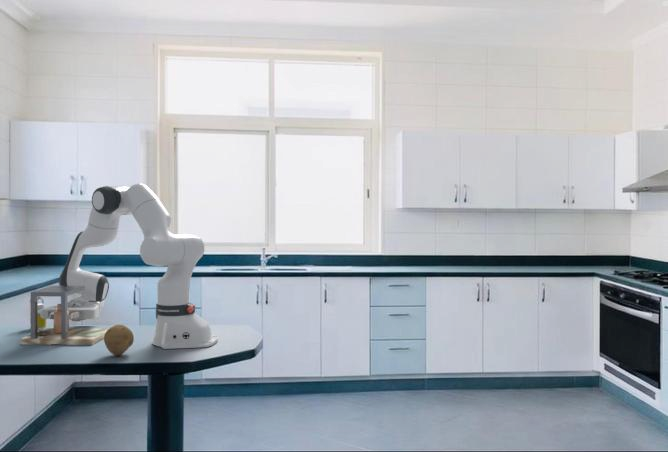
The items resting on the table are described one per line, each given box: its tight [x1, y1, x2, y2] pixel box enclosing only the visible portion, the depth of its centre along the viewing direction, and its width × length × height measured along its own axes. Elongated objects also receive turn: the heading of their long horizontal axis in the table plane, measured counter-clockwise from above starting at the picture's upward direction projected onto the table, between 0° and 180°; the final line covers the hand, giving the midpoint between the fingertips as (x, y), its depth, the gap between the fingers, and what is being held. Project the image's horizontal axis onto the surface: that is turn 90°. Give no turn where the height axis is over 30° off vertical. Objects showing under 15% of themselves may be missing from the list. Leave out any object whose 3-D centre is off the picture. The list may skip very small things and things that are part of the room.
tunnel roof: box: [30, 285, 85, 339], centre depth 188 cm, size 12×15×16 cm
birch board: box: [20, 327, 109, 346], centre depth 188 cm, size 25×16×2 cm, turn 91°
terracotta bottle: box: [53, 303, 70, 333], centre depth 188 cm, size 5×5×10 cm
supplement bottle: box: [29, 302, 47, 331], centre depth 204 cm, size 5×5×10 cm
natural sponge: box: [103, 324, 135, 357], centre depth 169 cm, size 9×9×10 cm
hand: (60, 316), depth 187 cm, fingers closed on terracotta bottle, 5 cm apart
